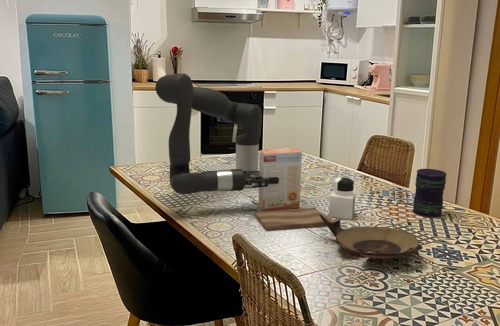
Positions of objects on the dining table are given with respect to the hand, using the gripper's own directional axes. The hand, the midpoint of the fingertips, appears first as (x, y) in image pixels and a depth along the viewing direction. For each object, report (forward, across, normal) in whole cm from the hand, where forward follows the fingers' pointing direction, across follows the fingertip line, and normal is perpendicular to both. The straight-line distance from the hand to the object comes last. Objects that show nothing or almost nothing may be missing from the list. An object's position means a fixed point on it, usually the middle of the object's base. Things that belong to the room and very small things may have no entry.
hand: (275, 177), depth 176 cm
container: (+21, -12, +11) cm, 26 cm away
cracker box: (+2, 0, +11) cm, 11 cm away
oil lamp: (+15, -41, +12) cm, 45 cm away
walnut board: (+2, -14, +11) cm, 18 cm away
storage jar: (+52, -16, +11) cm, 55 cm away
